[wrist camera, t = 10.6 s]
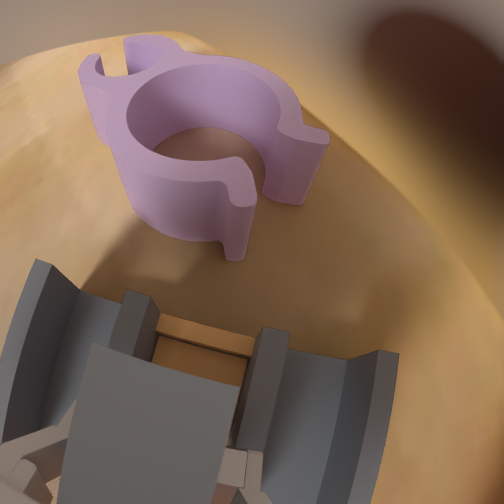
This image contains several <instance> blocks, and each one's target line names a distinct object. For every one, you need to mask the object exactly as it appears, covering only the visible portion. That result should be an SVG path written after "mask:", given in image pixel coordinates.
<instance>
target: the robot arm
mask: <svg viewBox="0 0 504 504" xmlns="http://www.w3.org/2000/svg"><path fill="white" fill-rule="evenodd" d="M76 400H77V399H75V401H74V402H73V404H72V405H71V406H70V408H69V409H68V411H67V412H66V414H65V415H64V416H63V418H62V419H61V421H60V422H59V424H58V425H57V427H56V426H54V425H52V426H50V427H47V428H44V429H42V430H39V431H36V432H34V433H31V434H28V435H25V436H23V437H20V438H17V439H14V440H11V441H8V442H5V443H3V444H2V445H1V446H0V504H50V503H51V501H52V499H53V496H52V494H51V492H50V490H49V489H48V487H47V485H46V484H45V483H47V482H49V481H51V480H53V479H55V478H56V477H58V476H60V475H61V471H62V465H63V460H64V454H65V449H66V444H67V439H68V434H69V430H70V425H71V421H72V417H73V412H74V408H75V404H76ZM262 465H263V453H262V452H259V451H253V450H247V449H244V448H239V447H233V446H228V445H226V447H225V451H224V455H223V459H222V463H221V467H220V471H219V475H218V479H217V483H216V487H215V491H214V494H213V498H212V502H211V504H272V502H271V501H270V499H269V498H268V496H267V495H266V493H265V492H262V491H261V478H262Z"/></svg>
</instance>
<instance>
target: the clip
mask: <svg viewBox="0 0 504 504" xmlns="http://www.w3.org/2000/svg"><path fill="white" fill-rule="evenodd" d="M123 44H124V51H125V57H126V63H127V69H128V75H127V76H121V77H108V76H105V74H104V70H103V65H102V61H101V56H100V54H92V55H89V56H87V57H86V58H85V59H84V61H83V62H82V63H81V65H80V67H79V70H78V76H79V79H80V83H81V86H82V89H83V93H84V96H85V99H86V102H87V106H88V109H89V112H90V115H91V118H92V121H93V124H94V127H95V130H96V133H97V136H98V138H99V139H100V140H101V142H103V143H104V144H105V145H107V146H109V147H110V148H111V151H112V154H113V157H114V160H115V163H116V166H117V169H118V172H119V175H120V177H121V180H122V183H123V186H124V188H125V191H126V194H127V197H128V199H129V202H130V204H131V206H132V208H133V209H134V211H135V212H136V214H137V215H138V216H139V217H140V218H141V219H142V220H143V221H144V222H145V223H146V224H148V225H149V226H150V227H152V228H153V229H155V230H157V231H159V232H160V233H163V234H165V235H167V236H170V237H173V238H177V239H181V240H187V241H198V242H204V241H219V242H221V243H222V244H223V246H224V253H225V257H226V259H227V260H228V261H230V262H238V261H241V260H243V259H244V257H245V254H246V250H247V245H248V240H249V236H250V231H251V226H252V222H253V217H254V212H255V208H256V203H257V192H256V187H255V183H254V178H253V173H252V171H251V170H250V168H249V167H248V165H247V164H246V162H245V161H244V160H243V159H242V158H240V157H236V156H233V157H228V158H224V159H218V160H209V161H188V160H180V159H174V158H170V157H166V156H163V155H160V154H157V153H155V152H153V150H154V148H155V147H156V146H157V145H158V144H160V143H161V142H162V141H163V140H165V139H166V138H168V137H170V136H172V135H174V134H176V133H178V132H181V131H184V130H188V129H193V128H218V129H223V130H227V131H230V132H233V133H235V134H237V135H239V136H241V137H243V138H244V139H246V140H247V141H249V142H250V143H251V144H252V145H253V146H254V147H255V148H256V149H257V151H258V152H259V154H260V155H261V157H262V159H263V162H264V165H265V170H266V177H265V181H264V185H263V190H262V194H263V195H264V196H265V197H266V198H269V199H271V200H273V201H275V202H278V203H285V204H291V205H302V204H303V203H304V201H305V198H306V196H307V194H308V191H309V189H310V187H311V185H312V182H313V180H314V178H315V175H316V173H317V171H318V168H319V166H320V164H321V161H322V159H323V156H324V154H325V152H326V149H327V147H328V145H329V142H330V135H329V133H328V132H327V131H325V130H323V129H320V128H315V127H310V126H308V125H306V124H305V123H304V122H303V119H302V109H301V105H300V102H299V100H298V98H297V96H296V95H295V93H294V92H293V90H292V89H291V88H290V87H289V86H288V84H287V83H285V82H284V81H283V80H282V79H281V78H280V77H278V76H277V75H276V74H274V73H272V72H271V71H269V70H267V69H266V68H264V67H261V66H259V65H257V64H254V63H252V62H248V61H245V60H241V59H238V58H233V57H226V56H216V55H200V54H194V53H191V52H188V51H185V50H184V49H182V48H181V47H180V46H179V45H178V43H177V42H175V41H174V40H172V39H170V38H168V37H164V36H160V35H135V36H129V37H126V38H124V39H123Z"/></svg>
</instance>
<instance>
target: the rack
mask: <svg viewBox="0 0 504 504" xmlns="http://www.w3.org/2000/svg"><path fill="white" fill-rule="evenodd" d="M289 336H290V332H286V331H282V330H277V329H273V328H269V327H263V328H262V330H261V331H260V333H259V334H258V336H257V337H256V338H254V337H250V336H246V335H242V334H237V333H233V332H229V331H225V330H222V329H218V328H214V327H210V326H206V325H202V324H199V323H195V322H191V321H188V320H184V319H181V318H177V317H174V316H170V315H167V314H163V313H161V312H160V311H159V309H158V307H157V306H156V304H155V303H154V301H153V300H152V298H151V296H148V295H144V294H141V293H138V292H134V291H131V290H128V289H127V290H126V293H125V295H124V298H123V301H122V304H120V303H117V302H114V301H111V300H108V299H105V298H102V297H99V296H96V295H93V294H90V293H87V292H84V291H82V290H79V289H78V288H77V287H76V286H75V285H74V284H73V283H72V282H71V281H69V280H68V279H67V278H66V277H65V276H64V275H63V274H62V273H61V272H60V271H59V270H58V269H57V268H56V267H54V266H53V265H52V264H50V263H47V262H44V261H41V260H39V259H35V261H34V263H33V266H32V268H31V271H30V273H29V275H28V278H27V280H26V283H25V286H24V288H23V291H22V293H21V296H20V299H19V301H18V304H17V307H16V310H15V313H14V316H13V319H12V322H11V325H10V328H9V331H8V334H7V337H6V341H5V344H4V348H3V351H2V355H1V358H0V446H1V445H2V444H3V443H5V442H8V441H11V440H14V439H17V438H20V437H23V436H25V435H28V434H31V433H34V432H36V431H39V430H42V429H44V428H47V427H50V426H52V425H54V426H56V427H57V425H58V424H59V422H60V421H61V419H62V418H63V416H64V415H65V414H66V412H67V411H68V409H69V408H70V406H71V405H72V404H73V402H74V401H75V399H77V396H78V392H79V388H80V385H81V381H82V377H83V374H84V370H85V367H86V363H87V360H88V356H89V353H90V350H91V346H92V343H96V344H99V345H101V346H104V347H107V348H109V349H112V350H115V351H118V352H120V353H123V354H126V355H129V356H132V357H135V358H138V359H141V360H144V361H147V362H150V363H153V364H157V365H160V366H163V367H166V368H170V369H173V370H176V371H180V372H183V373H187V374H190V375H194V376H198V377H201V378H205V379H209V380H213V381H217V382H221V383H225V384H229V385H233V386H237V387H240V390H239V394H238V398H237V402H236V406H235V411H234V415H233V419H232V423H231V427H230V431H229V435H228V439H227V443H226V445H228V446H233V447H239V448H244V449H247V450H253V451H259V452H262V453H263V465H262V478H261V491H262V492H265V493H266V495H267V496H268V498H269V499H270V501H271V502H272V504H370V502H371V498H372V495H373V491H374V487H375V484H376V480H377V476H378V472H379V468H380V464H381V460H382V455H383V451H384V446H385V442H386V437H387V432H388V427H389V421H390V416H391V410H392V404H393V398H394V391H395V384H396V377H397V369H398V361H399V353H394V352H388V351H382V350H377V351H374V352H371V353H368V354H365V355H362V356H359V357H356V358H353V359H349V360H343V359H338V358H332V357H327V356H322V355H317V354H312V353H307V352H302V351H297V350H292V349H287V346H288V341H289Z"/></svg>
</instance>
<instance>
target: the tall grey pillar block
mask: <svg viewBox="0 0 504 504" xmlns="http://www.w3.org/2000/svg"><path fill="white" fill-rule="evenodd" d="M239 390H240V387H237V386H233V385H229V384H225V383H221V382H217V381H213V380H209V379H205V378H201V377H198V376H194V375H190V374H187V373H183V372H180V371H176V370H173V369H170V368H166V367H163V366H160V365H157V364H153V363H150V362H147V361H144V360H141V359H138V358H135V357H132V356H129V355H126V354H123V353H120V352H118V351H115V350H112V349H109V348H107V347H104V346H101V345H99V344H96V343H92V346H91V350H90V353H89V356H88V360H87V363H86V367H85V370H84V374H83V377H82V381H81V385H80V388H79V392H78V396H77V400H76V404H75V408H74V412H73V417H72V421H71V425H70V430H69V434H68V439H67V444H66V449H65V454H64V460H63V465H62V471H61V477H60V483H59V490H58V497H57V504H211V502H212V498H213V494H214V491H215V487H216V483H217V479H218V475H219V471H220V467H221V463H222V459H223V455H224V451H225V447H226V443H227V439H228V435H229V431H230V427H231V423H232V419H233V415H234V411H235V406H236V402H237V398H238V394H239Z"/></svg>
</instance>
